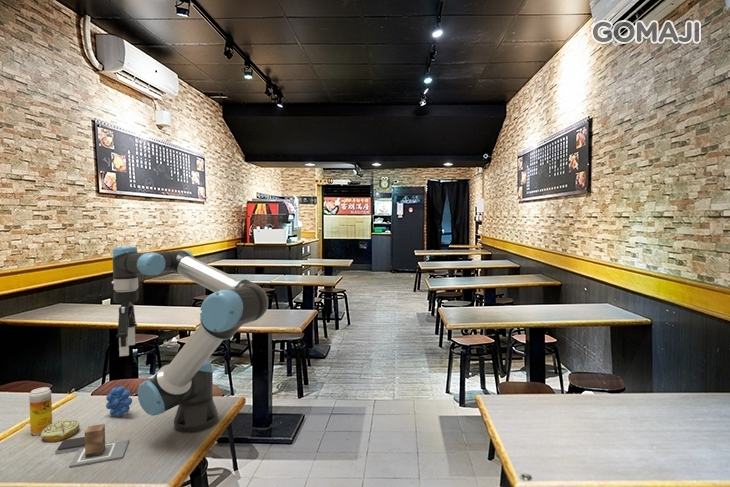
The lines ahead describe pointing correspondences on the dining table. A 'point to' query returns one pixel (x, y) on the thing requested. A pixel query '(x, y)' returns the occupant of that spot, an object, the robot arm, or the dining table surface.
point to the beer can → (40, 409)
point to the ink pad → (71, 445)
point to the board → (110, 453)
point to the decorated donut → (60, 430)
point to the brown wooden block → (94, 440)
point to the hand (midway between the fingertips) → (127, 350)
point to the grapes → (118, 401)
